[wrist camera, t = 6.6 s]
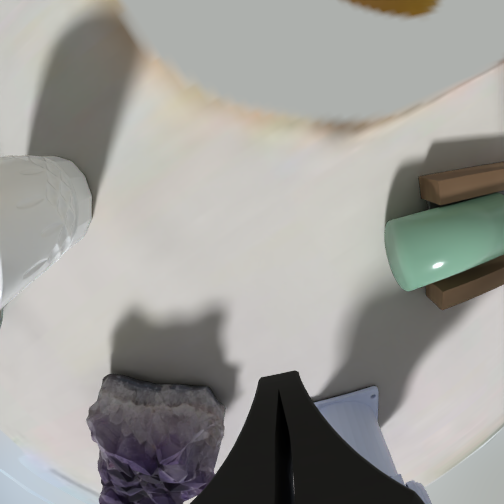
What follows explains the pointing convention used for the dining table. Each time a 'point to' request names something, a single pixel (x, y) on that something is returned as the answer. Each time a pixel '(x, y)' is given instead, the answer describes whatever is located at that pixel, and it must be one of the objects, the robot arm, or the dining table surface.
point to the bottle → (445, 240)
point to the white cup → (38, 217)
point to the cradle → (451, 191)
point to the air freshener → (1, 316)
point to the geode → (155, 440)
